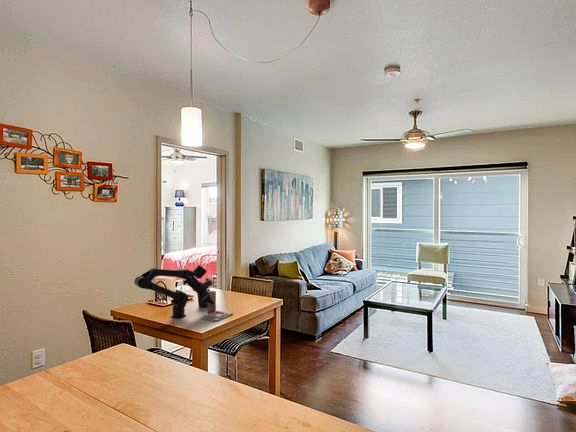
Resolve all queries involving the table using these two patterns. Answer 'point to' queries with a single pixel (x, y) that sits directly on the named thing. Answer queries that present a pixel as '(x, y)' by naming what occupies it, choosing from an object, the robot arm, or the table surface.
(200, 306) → the coffee mug
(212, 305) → the walnut post
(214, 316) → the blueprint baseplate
